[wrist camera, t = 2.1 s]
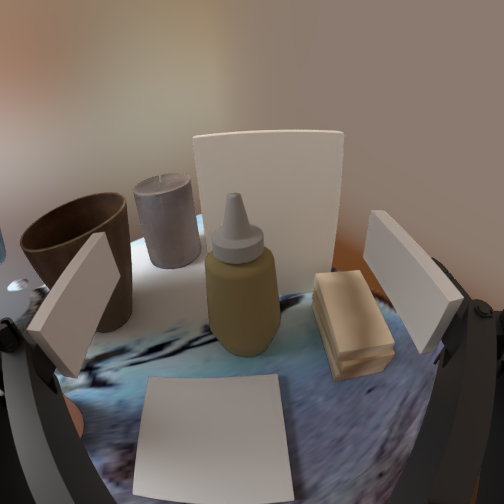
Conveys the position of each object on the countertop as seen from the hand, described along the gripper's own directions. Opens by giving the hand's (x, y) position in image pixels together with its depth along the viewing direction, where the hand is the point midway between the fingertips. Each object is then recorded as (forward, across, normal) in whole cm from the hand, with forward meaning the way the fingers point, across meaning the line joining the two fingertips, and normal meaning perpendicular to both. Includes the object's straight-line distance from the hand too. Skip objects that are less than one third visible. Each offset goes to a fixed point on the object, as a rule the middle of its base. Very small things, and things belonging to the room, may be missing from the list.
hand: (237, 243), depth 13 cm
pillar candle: (+30, -12, -19) cm, 38 cm away
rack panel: (+18, +4, -19) cm, 27 cm away
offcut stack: (+9, +12, -20) cm, 24 cm away
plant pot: (+15, -20, -19) cm, 32 cm away
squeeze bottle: (+10, 0, -20) cm, 22 cm away
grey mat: (-3, -4, -20) cm, 20 cm away
